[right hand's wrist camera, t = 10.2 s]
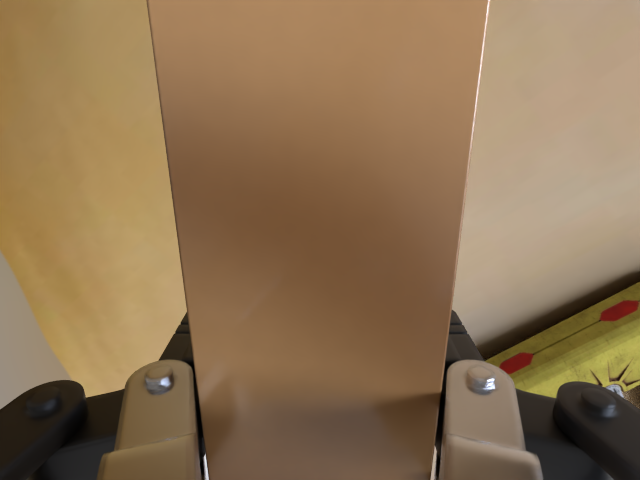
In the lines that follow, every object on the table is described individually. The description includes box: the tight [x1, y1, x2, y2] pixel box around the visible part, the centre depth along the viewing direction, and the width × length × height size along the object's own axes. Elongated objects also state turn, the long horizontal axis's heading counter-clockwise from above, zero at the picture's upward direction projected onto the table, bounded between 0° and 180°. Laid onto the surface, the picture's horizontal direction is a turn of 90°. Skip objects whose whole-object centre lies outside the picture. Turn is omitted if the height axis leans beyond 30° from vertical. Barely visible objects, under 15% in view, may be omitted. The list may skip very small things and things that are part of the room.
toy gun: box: [485, 282, 640, 398], centre depth 33 cm, size 5×24×15 cm
